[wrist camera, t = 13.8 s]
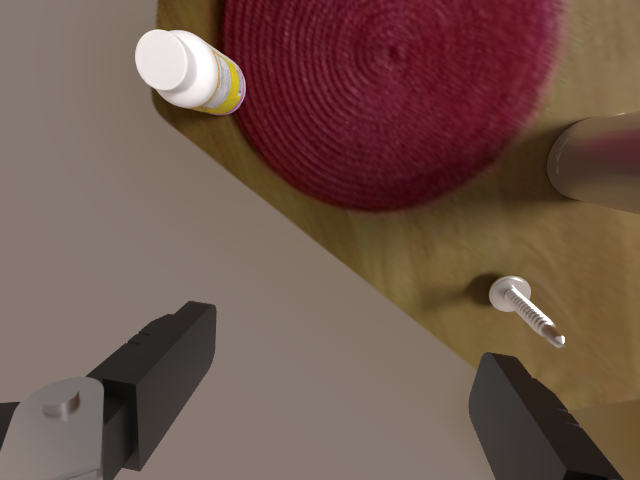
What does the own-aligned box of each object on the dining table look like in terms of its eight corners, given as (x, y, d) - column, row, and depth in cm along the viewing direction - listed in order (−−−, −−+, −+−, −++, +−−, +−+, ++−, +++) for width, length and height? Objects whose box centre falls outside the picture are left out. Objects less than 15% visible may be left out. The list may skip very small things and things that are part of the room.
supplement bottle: (184, 88, 40) (108, 61, 28) (217, 44, 38) (151, -6, 26) (224, 128, 41) (167, 119, 29) (258, 86, 39) (213, 58, 27)
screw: (500, 263, 42) (530, 283, 42) (475, 291, 43) (504, 310, 43) (561, 311, 29) (603, 340, 29) (523, 349, 31) (564, 376, 31)
